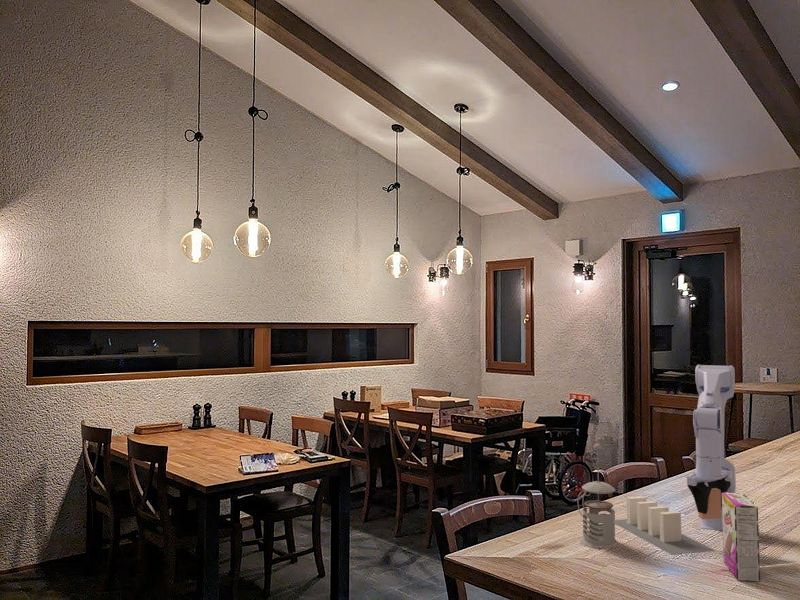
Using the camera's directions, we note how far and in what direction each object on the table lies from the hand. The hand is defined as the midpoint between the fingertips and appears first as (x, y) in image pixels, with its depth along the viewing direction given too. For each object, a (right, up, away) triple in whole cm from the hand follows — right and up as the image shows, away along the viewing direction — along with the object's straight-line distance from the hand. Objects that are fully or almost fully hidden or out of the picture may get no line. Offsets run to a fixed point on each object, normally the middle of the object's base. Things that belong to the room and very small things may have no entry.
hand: (709, 511), depth 167 cm
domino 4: (-9, -8, +3) cm, 12 cm away
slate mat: (-10, -9, +8) cm, 15 cm away
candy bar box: (-1, -8, -18) cm, 20 cm away
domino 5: (0, -2, 0) cm, 2 cm away
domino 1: (-12, -9, +18) cm, 23 cm away
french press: (-27, -9, +4) cm, 29 cm away
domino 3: (-10, -9, +8) cm, 15 cm away
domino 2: (-11, -9, +13) cm, 19 cm away
